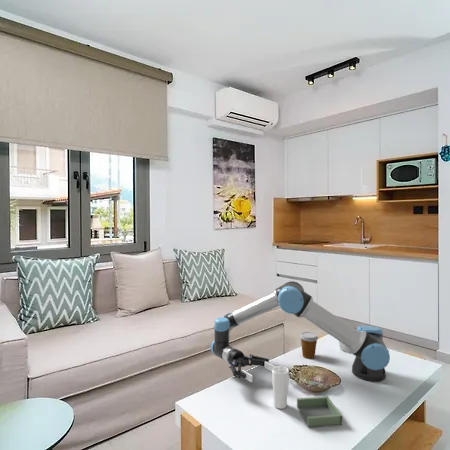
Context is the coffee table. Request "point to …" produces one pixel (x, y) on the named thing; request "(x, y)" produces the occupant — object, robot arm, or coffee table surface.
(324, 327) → the robot arm
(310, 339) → the disposable coffee cup
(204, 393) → the coffee table surface
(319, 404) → the tray
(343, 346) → the ramekin
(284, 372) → the drinking glass
